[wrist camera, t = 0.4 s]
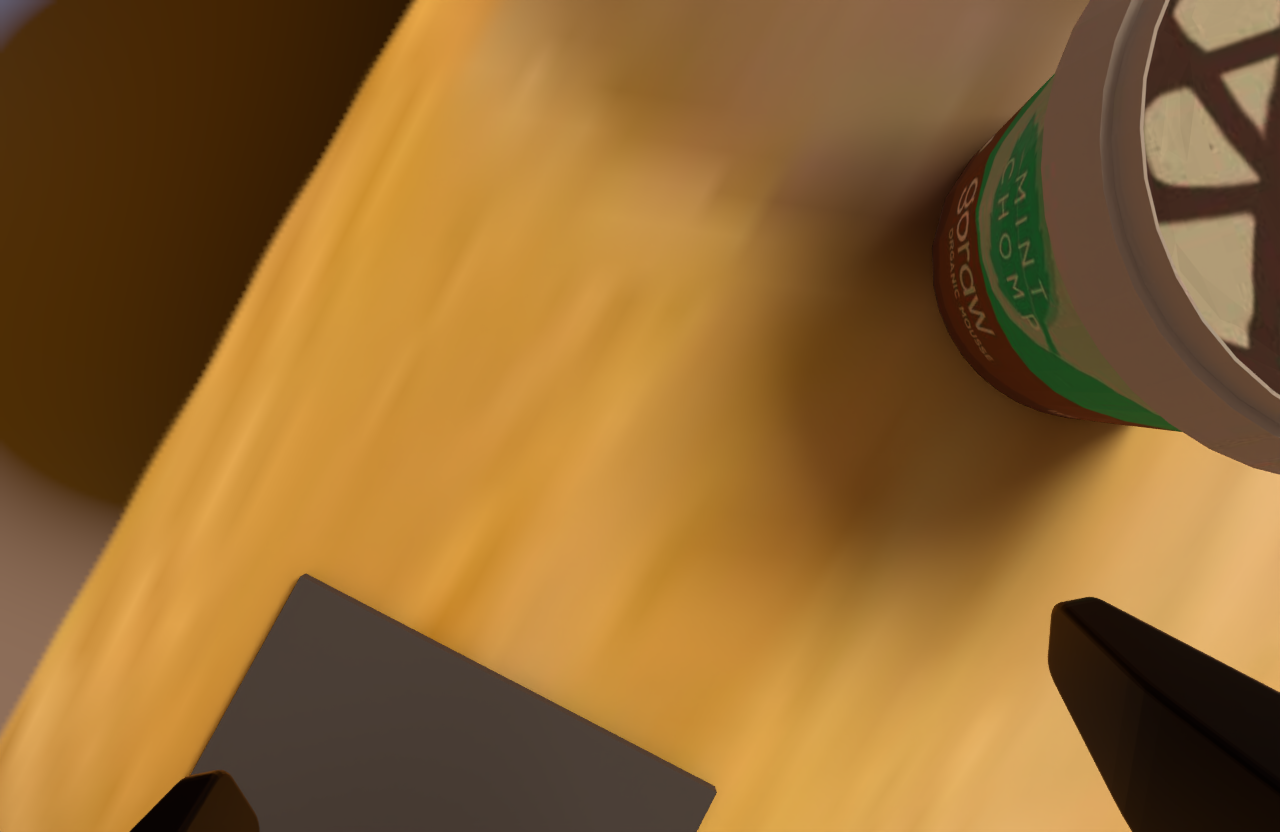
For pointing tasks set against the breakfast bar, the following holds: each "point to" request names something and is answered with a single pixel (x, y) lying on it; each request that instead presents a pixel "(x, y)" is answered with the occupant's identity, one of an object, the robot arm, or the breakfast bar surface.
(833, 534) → the breakfast bar surface
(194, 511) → the breakfast bar surface
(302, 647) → the mat
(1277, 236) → the food container
